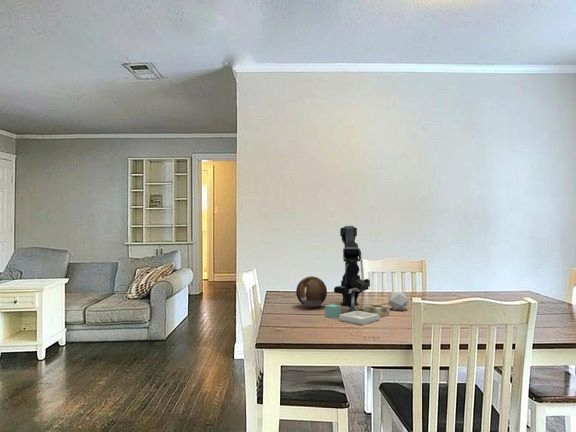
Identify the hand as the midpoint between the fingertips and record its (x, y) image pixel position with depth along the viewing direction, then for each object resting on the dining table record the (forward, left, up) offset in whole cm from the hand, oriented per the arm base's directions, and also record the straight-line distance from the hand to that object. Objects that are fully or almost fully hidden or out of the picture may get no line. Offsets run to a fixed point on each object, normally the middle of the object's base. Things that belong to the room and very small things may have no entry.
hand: (351, 306), depth 218 cm
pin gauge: (0, 0, -2) cm, 2 cm away
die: (+12, +20, -3) cm, 23 cm away
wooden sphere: (-21, -5, -3) cm, 22 cm away
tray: (+13, -11, -2) cm, 17 cm away
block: (0, -13, -3) cm, 13 cm away
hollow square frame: (+12, +3, -2) cm, 13 cm away
